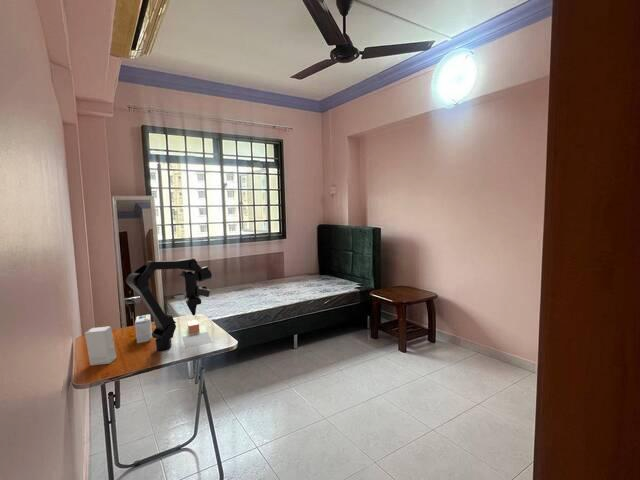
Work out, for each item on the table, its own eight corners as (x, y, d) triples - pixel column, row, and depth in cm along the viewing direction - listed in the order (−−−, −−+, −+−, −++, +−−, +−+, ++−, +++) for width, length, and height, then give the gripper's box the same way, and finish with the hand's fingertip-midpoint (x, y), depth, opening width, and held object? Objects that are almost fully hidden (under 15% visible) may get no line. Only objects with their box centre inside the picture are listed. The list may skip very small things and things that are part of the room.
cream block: (198, 324, 173) (197, 319, 181) (188, 326, 170) (187, 321, 178) (199, 332, 173) (197, 326, 181) (189, 334, 171) (187, 328, 179)
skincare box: (116, 358, 149) (112, 325, 148) (109, 364, 143) (104, 330, 142) (97, 359, 149) (93, 326, 147) (88, 366, 143) (84, 332, 141)
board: (212, 344, 158) (212, 342, 158) (185, 350, 153) (185, 348, 153) (204, 327, 184) (204, 324, 183) (180, 331, 178) (180, 329, 178)
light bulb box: (138, 336, 175) (135, 316, 174) (152, 333, 177) (150, 313, 176) (136, 343, 165) (134, 322, 164) (152, 340, 168) (149, 319, 167)
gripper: (211, 285, 160) (213, 317, 161) (205, 278, 177) (208, 307, 178) (185, 288, 155) (189, 321, 157) (182, 281, 172) (185, 311, 173)
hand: (193, 315), depth 166 cm, fingers closed
